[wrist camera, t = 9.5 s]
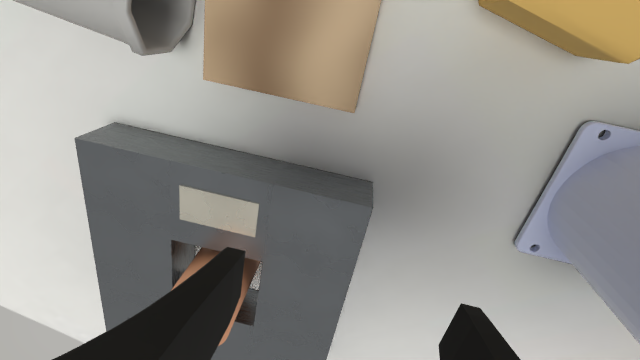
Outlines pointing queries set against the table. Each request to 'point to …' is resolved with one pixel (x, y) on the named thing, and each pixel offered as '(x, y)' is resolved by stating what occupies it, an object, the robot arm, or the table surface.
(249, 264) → the peg
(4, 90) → the table surface
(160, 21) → the tube
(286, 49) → the tan square tile
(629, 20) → the rubber stamp
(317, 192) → the grey square slab
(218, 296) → the robot arm
